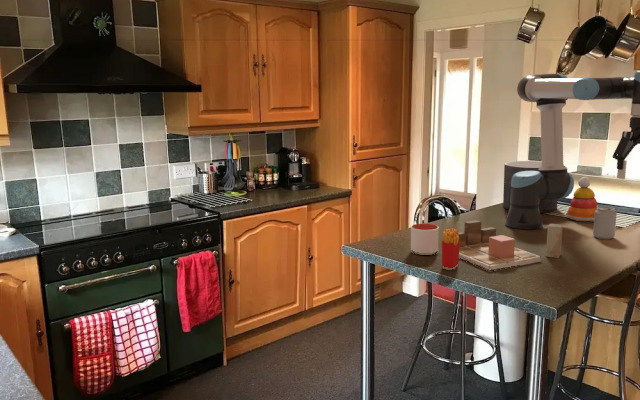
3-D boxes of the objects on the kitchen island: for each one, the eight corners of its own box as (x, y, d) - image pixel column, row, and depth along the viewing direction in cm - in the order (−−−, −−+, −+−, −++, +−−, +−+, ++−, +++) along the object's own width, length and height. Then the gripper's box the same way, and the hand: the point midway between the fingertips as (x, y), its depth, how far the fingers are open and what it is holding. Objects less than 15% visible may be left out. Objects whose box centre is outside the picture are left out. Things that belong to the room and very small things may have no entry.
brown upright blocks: (463, 246, 193) (464, 222, 191) (476, 244, 195) (477, 220, 193) (505, 263, 173) (507, 236, 171) (519, 260, 175) (520, 233, 174)
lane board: (445, 252, 191) (445, 247, 190) (492, 244, 199) (492, 239, 199) (489, 271, 169) (489, 266, 169) (540, 261, 177) (540, 256, 177)
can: (617, 240, 199) (619, 210, 197) (596, 239, 201) (598, 209, 199) (610, 235, 207) (613, 205, 204) (590, 234, 208) (592, 205, 206)
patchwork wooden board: (448, 249, 191) (448, 233, 189) (491, 242, 198) (491, 227, 197) (489, 266, 171) (489, 249, 169) (534, 258, 178) (535, 241, 177)
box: (558, 258, 180) (560, 227, 178) (545, 256, 182) (547, 226, 180) (560, 254, 184) (562, 224, 182) (547, 252, 187) (549, 223, 185)
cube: (488, 253, 181) (489, 237, 180) (501, 251, 183) (502, 235, 182) (500, 258, 175) (501, 241, 174) (514, 255, 178) (515, 239, 176)
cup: (422, 258, 184) (422, 231, 182) (405, 251, 193) (405, 225, 191) (444, 254, 189) (444, 227, 187) (426, 247, 198) (426, 222, 196)
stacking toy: (589, 214, 240) (593, 173, 237) (607, 222, 226) (611, 178, 223) (559, 216, 240) (562, 174, 236) (575, 223, 226) (578, 179, 222)
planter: (566, 207, 256) (570, 163, 252) (540, 216, 241) (543, 169, 236) (519, 200, 276) (521, 159, 271) (492, 208, 260) (494, 164, 256)
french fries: (450, 272, 170) (451, 234, 167) (438, 269, 172) (439, 232, 170) (461, 264, 177) (462, 227, 174) (449, 262, 179) (450, 226, 177)
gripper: (622, 118, 171) (616, 181, 175) (681, 115, 177) (674, 176, 181) (604, 117, 178) (599, 178, 182) (662, 114, 184) (655, 173, 188)
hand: (636, 177), depth 182 cm, fingers open, 13 cm apart
